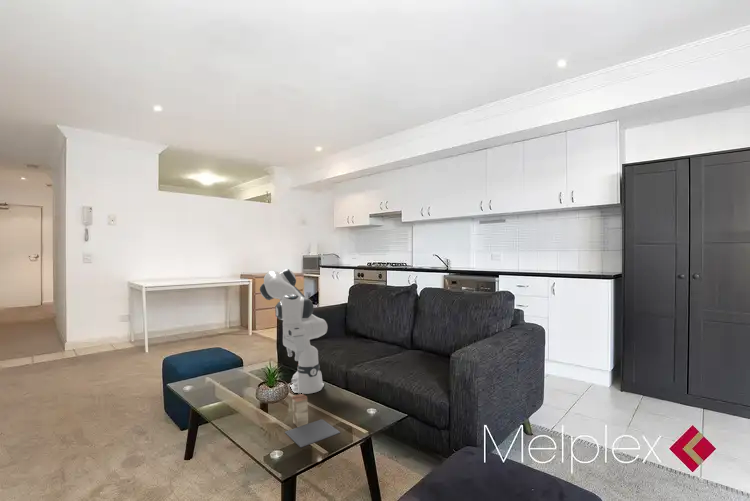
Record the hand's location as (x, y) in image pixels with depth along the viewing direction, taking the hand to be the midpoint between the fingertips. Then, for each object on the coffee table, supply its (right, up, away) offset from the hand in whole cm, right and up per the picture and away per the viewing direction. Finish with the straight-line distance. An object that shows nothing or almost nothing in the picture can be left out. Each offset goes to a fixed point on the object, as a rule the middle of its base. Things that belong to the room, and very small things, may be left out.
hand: (293, 358), depth 173 cm
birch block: (+5, -27, -8) cm, 28 cm away
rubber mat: (+12, -26, -17) cm, 34 cm away
